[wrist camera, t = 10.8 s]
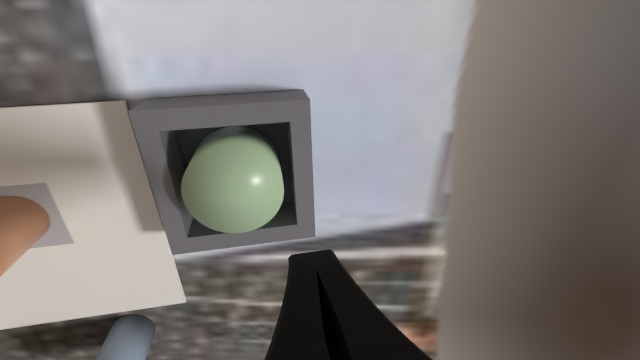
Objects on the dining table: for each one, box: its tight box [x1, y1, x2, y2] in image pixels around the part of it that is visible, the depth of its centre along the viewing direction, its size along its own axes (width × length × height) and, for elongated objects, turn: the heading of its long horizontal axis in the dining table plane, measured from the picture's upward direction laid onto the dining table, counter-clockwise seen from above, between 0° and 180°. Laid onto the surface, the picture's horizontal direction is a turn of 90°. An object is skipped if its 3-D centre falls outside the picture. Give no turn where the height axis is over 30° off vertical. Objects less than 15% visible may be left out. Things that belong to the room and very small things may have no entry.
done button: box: [181, 126, 284, 233], centre depth 16 cm, size 5×5×3 cm
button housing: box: [128, 90, 315, 255], centre depth 17 cm, size 8×8×2 cm
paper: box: [0, 100, 186, 330], centre depth 18 cm, size 14×12×1 cm
